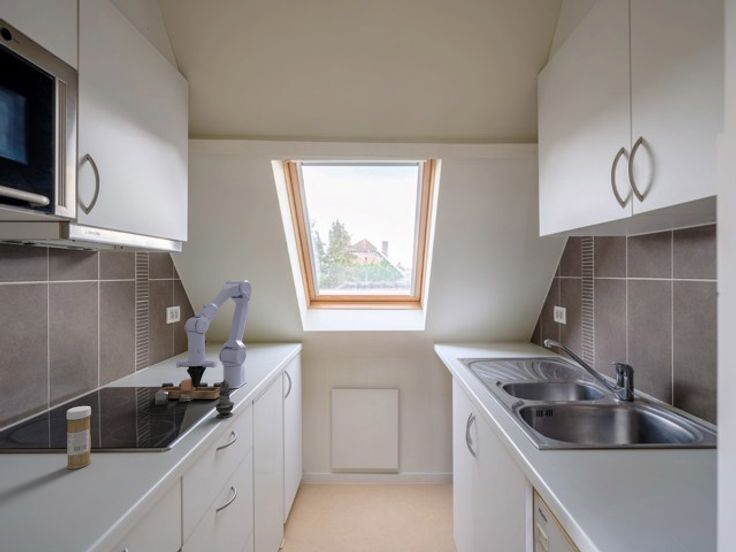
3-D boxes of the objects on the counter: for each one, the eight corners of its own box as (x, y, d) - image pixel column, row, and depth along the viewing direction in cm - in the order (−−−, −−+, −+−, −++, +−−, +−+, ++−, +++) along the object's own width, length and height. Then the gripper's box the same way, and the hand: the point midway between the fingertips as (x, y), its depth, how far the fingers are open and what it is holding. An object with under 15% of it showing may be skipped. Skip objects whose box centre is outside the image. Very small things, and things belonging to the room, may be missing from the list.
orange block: (181, 392, 139) (181, 381, 139) (186, 389, 142) (186, 378, 142) (190, 392, 138) (190, 381, 138) (195, 389, 142) (195, 378, 142)
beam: (155, 401, 137) (155, 391, 137) (166, 395, 144) (166, 386, 144) (214, 401, 136) (214, 392, 136) (222, 396, 143) (222, 386, 143)
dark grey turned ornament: (237, 412, 124) (237, 376, 125) (229, 419, 119) (229, 380, 119) (220, 412, 125) (220, 376, 125) (211, 418, 119) (211, 380, 119)
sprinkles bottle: (92, 459, 92) (92, 404, 92) (88, 467, 88) (88, 409, 88) (69, 463, 90) (69, 406, 90) (63, 472, 86) (64, 412, 86)
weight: (159, 401, 137) (159, 390, 137) (170, 402, 136) (170, 390, 136) (152, 405, 133) (153, 394, 133) (163, 405, 132) (163, 394, 132)
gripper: (171, 351, 137) (171, 389, 136) (210, 352, 136) (210, 390, 135) (182, 348, 144) (182, 384, 143) (219, 348, 143) (219, 384, 143)
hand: (196, 386), depth 140 cm, fingers closed
